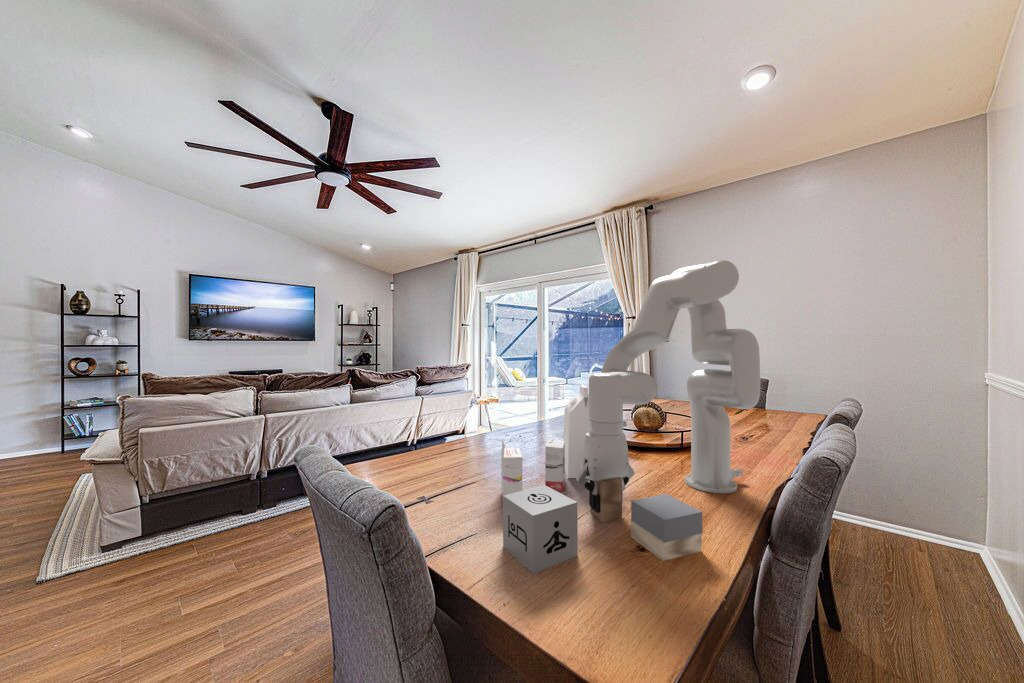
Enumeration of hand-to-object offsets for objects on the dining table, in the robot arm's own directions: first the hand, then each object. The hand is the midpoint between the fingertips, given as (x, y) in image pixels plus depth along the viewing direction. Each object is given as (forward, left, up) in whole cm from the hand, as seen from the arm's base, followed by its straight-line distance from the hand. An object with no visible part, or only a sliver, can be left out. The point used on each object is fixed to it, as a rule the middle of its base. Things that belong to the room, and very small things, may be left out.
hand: (606, 507), depth 85 cm
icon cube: (+20, +8, -2) cm, 22 cm away
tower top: (-4, +14, +2) cm, 15 cm away
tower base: (-4, +14, -2) cm, 15 cm away
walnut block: (0, 0, -2) cm, 2 cm away
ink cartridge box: (+17, -16, -2) cm, 23 cm away
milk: (-10, -27, -2) cm, 29 cm away
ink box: (+3, -20, -2) cm, 20 cm away
